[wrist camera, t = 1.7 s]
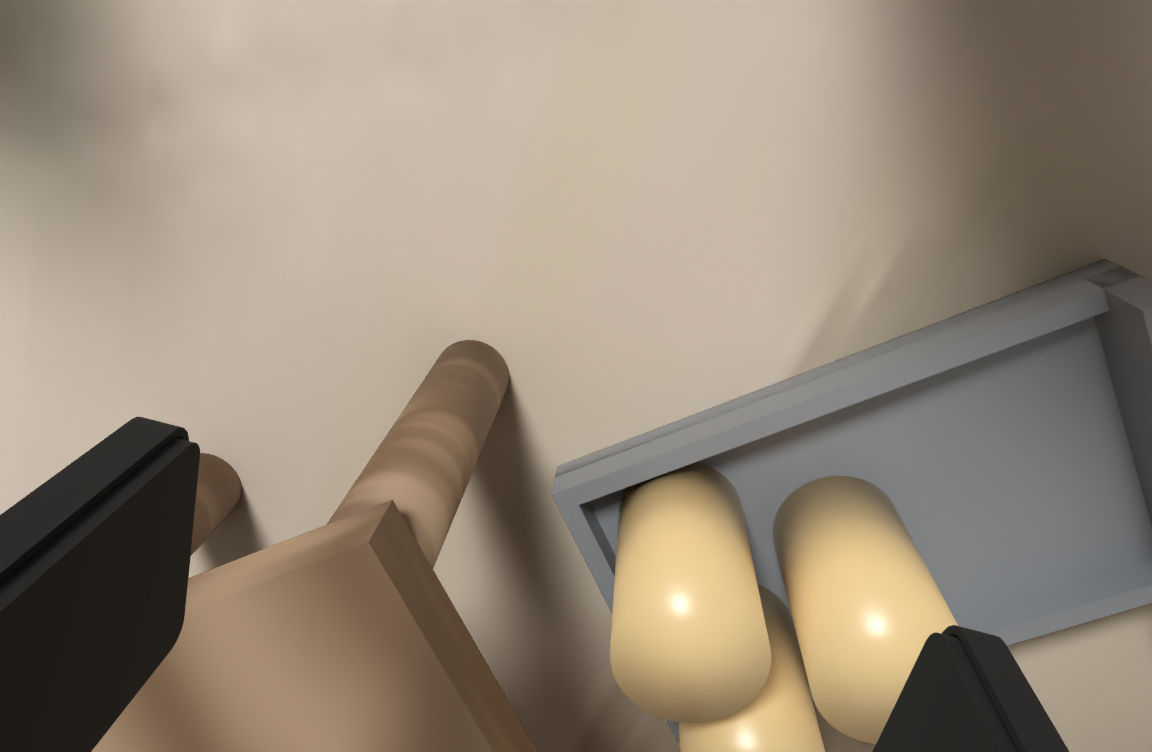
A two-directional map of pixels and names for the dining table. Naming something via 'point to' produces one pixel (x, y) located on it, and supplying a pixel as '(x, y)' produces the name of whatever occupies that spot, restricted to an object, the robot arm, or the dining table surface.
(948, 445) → the tray
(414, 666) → the low table
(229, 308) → the dining table surface
